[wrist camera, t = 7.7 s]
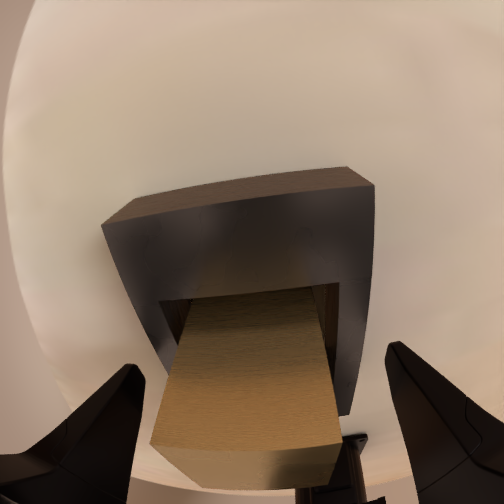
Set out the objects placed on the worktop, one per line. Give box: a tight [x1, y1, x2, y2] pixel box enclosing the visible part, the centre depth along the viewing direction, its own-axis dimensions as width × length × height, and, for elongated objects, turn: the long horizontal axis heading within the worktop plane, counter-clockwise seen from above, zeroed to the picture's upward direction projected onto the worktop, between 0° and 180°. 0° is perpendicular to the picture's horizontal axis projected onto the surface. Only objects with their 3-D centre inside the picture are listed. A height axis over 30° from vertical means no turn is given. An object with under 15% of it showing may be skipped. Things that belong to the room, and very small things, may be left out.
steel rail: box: [101, 167, 375, 417], centre depth 10 cm, size 11×8×2 cm
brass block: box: [150, 286, 343, 490], centre depth 8 cm, size 4×4×7 cm
